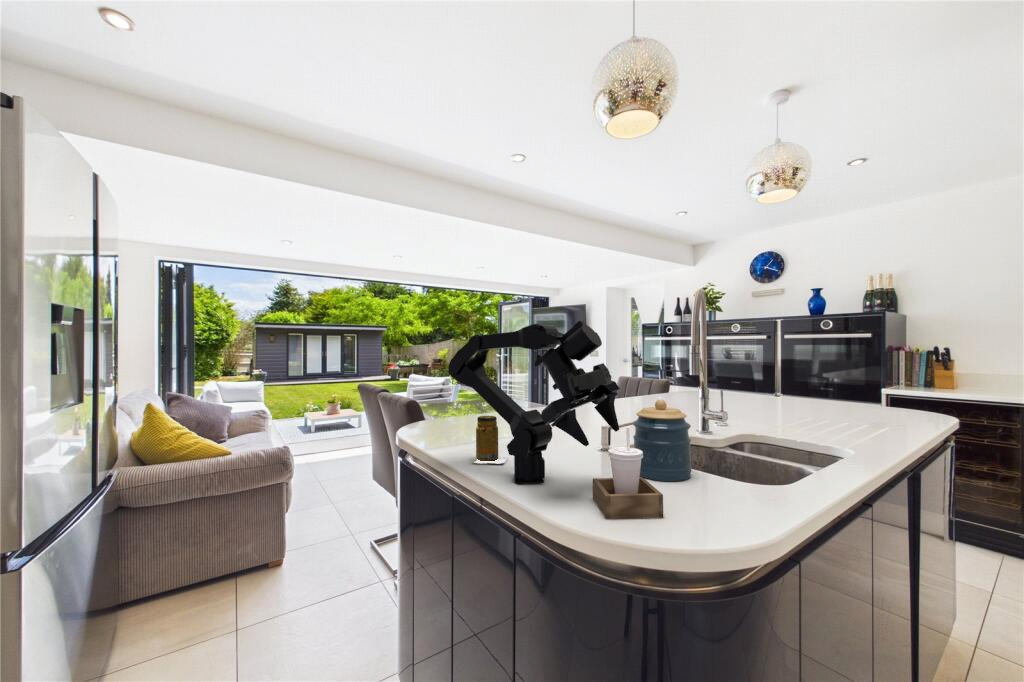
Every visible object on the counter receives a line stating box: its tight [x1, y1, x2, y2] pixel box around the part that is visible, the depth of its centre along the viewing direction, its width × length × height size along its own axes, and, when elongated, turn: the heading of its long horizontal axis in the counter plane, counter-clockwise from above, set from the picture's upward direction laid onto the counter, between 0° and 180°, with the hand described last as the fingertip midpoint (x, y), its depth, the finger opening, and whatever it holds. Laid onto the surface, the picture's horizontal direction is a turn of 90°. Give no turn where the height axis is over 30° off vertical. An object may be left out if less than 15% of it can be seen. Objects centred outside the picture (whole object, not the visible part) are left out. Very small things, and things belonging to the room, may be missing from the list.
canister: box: [632, 399, 693, 482], centre depth 98 cm, size 13×13×18 cm
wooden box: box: [592, 476, 665, 520], centre depth 77 cm, size 10×10×4 cm
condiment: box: [475, 415, 499, 461], centre depth 111 cm, size 7×8×12 cm
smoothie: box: [607, 427, 643, 494], centre depth 77 cm, size 6×6×14 cm
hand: (603, 437), depth 83 cm, fingers open, 9 cm apart
